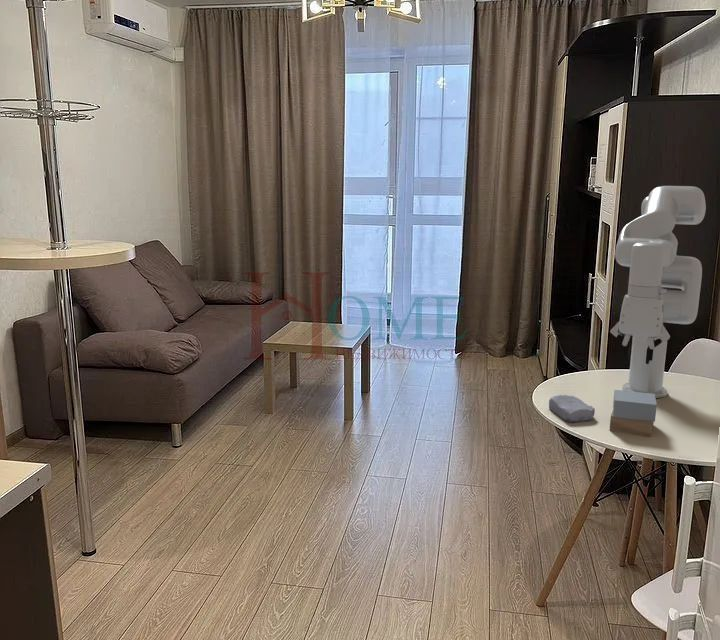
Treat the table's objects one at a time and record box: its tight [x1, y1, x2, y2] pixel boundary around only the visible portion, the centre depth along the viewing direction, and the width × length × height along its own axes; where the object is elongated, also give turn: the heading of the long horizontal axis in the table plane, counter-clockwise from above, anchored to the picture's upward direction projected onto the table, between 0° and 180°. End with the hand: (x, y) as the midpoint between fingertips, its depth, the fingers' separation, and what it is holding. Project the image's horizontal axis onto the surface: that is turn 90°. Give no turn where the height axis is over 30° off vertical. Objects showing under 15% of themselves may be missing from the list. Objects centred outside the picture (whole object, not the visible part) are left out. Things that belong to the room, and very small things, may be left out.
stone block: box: [548, 394, 596, 423], centre depth 194 cm, size 12×5×10 cm
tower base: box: [608, 410, 655, 438], centre depth 184 cm, size 9×10×4 cm
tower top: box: [612, 389, 658, 423], centre depth 183 cm, size 9×10×4 cm
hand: (637, 360), depth 180 cm, fingers open, 4 cm apart
